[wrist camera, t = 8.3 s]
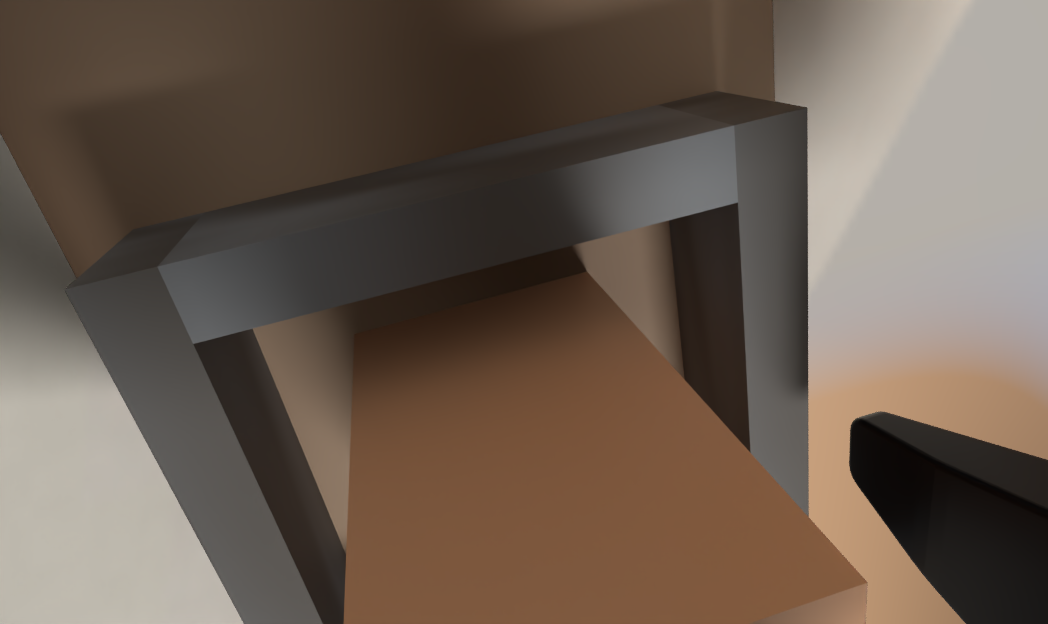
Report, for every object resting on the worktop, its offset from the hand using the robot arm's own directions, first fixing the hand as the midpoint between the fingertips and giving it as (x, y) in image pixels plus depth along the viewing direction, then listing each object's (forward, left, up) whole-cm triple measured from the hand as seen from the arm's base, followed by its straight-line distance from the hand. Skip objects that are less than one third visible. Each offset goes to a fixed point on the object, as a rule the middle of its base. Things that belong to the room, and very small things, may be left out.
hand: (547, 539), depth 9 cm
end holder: (0, 0, -4) cm, 4 cm away
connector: (0, 0, -4) cm, 4 cm away
